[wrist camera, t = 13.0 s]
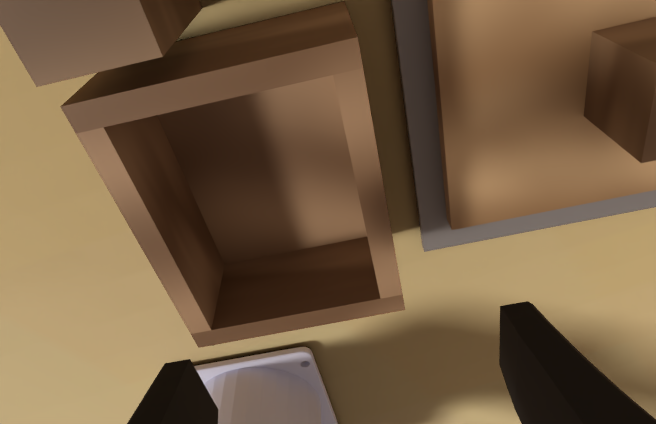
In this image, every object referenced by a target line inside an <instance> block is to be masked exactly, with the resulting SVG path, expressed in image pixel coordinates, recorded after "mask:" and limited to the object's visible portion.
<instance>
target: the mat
mask: <svg viewBox="0 0 656 424" xmlns="http://www.w3.org/2000/svg"><path fill="white" fill-rule="evenodd" d="M391 6H392V14H393V21H394V29H395V37H396V45H397V52H398V60H399V68H400V76H401V83H402V91H403V99H404V106H405V114H406V122H407V130H408V137H409V145H410V153H411V161H412V168H413V176H414V184H415V192H416V199H417V207H418V215H419V223H420V230H421V238H422V246H423V249H424V252H425V251H430V250H436V249H441V248H446V247H451V246H456V245H462V244H467V243H472V242H477V241H482V240H487V239H493V238H498V237H503V236H508V235H513V234H519V233H524V232H529V231H534V230H539V229H544V228H550V227H555V226H560V225H565V224H570V223H576V222H581V221H586V220H591V219H596V218H601V217H607V216H612V215H617V214H622V213H627V212H633V211H638V210H643V209H648V208H653V207H656V190H653V191H648V192H643V193H638V194H633V195H628V196H623V197H617V198H612V199H607V200H602V201H597V202H592V203H587V204H582V205H577V206H572V207H567V208H562V209H557V210H552V211H547V212H542V213H537V214H531V215H526V216H521V217H516V218H511V219H506V220H501V221H496V222H491V223H486V224H481V225H476V226H471V227H466V228H461V229H456V230H451V227H450V225H449V223H448V221H447V215H446V204H445V193H444V181H443V170H442V159H441V148H440V137H439V126H438V115H437V104H436V93H435V81H434V70H433V59H432V48H431V37H430V26H429V15H428V4H427V0H391Z"/></svg>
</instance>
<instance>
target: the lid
mask: <svg viewBox="0 0 656 424" xmlns="http://www.w3.org/2000/svg"><path fill="white" fill-rule="evenodd" d="M427 4H428V15H429V26H430V37H431V48H432V59H433V70H434V81H435V93H436V104H437V115H438V126H439V137H440V148H441V159H442V170H443V181H444V193H445V204H446V215H447V221H448V223H449V225H450V227H451V230H456V229H461V228H466V227H471V226H476V225H481V224H486V223H491V222H496V221H501V220H506V219H511V218H516V217H521V216H526V215H531V214H537V213H542V212H547V211H552V210H557V209H562V208H567V207H572V206H577V205H582V204H587V203H592V202H597V201H602V200H607V199H612V198H617V197H623V196H628V195H633V194H638V193H643V192H648V191H653V190H656V0H427Z"/></svg>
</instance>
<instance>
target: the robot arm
mask: <svg viewBox="0 0 656 424" xmlns="http://www.w3.org/2000/svg"><path fill="white" fill-rule="evenodd" d="M499 364H500V367H501V370H502V373H503V376H504V379H505V382H506V385H507V388H508V391H509V394H510V396H511V399H512V402H513V405H514V408H515V410H516V412H517V414H518V417H519V419H520V421H521V423H522V424H656V419H655V418H653V417H652V416H651V415H650V414H649V413H647V412H646V411H645V410H644V409H643V408H641V407H640V406H639V405H638V404H637V403H635V402H634V401H633V400H632V399H631V398H630V397H628V396H627V395H626V394H625V393H624V392H623V391H621V390H620V389H619V388H618V387H617V386H616V385H615V384H614V383H613V382H611V381H610V380H609V379H608V378H607V377H606V376H605V375H604V374H603V373H602V372H600V371H599V370H598V369H597V368H596V367H595V366H594V365H593V364H592V363H591V362H589V361H588V360H587V359H586V358H585V357H584V356H583V355H582V354H581V353H580V352H579V351H578V350H577V349H576V348H575V347H574V346H573V345H572V344H571V343H570V342H569V341H568V340H567V339H566V338H565V337H564V336H563V335H562V334H561V333H560V332H559V331H558V330H557V329H556V328H555V327H554V326H553V325H552V324H551V323H550V322H549V321H548V320H547V319H546V318H545V317H544V316H543V315H542V314H541V313H540V312H539V311H538V310H537V308H536V307H535V306H534V305H533V304H531V303H530V302H522V303H516V304H510V305H504V306H500V359H499ZM127 424H338V422H337V419H336V416H335V414H334V411H333V408H332V405H331V403H330V400H329V397H328V394H327V392H326V389H325V386H324V383H323V381H322V378H321V375H320V372H319V370H318V367H317V364H316V361H315V359H314V356H313V353H312V351H311V349H309V348H307V347H297V348H292V349H286V350H280V351H275V352H269V353H264V354H258V355H253V356H247V357H242V358H236V359H230V360H225V361H219V362H214V363H208V364H203V365H197V366H194V365H193V364H192V362H191V360H190V359H189V360H183V361H177V362H171V363H165V365H164V366H163V367H162V369H161V370H160V372H159V374H158V375H157V377H156V378H155V380H154V382H153V383H152V385H151V386H150V388H149V390H148V391H147V393H146V394H145V396H144V398H143V399H142V401H141V403H140V404H139V406H138V407H137V409H136V411H135V412H134V414H133V415H132V417H131V418H130V420H129V422H128V423H127Z"/></svg>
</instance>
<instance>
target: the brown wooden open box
mask: <svg viewBox="0 0 656 424" xmlns="http://www.w3.org/2000/svg"><path fill="white" fill-rule="evenodd" d="M201 9H202V7H201V4H200V1H199V0H0V25H1V27H2V29H3V31H4V32H5V34H6V36H7V37H8V39H9V41H10V42H11V44H12V46H13V48H14V49H15V51H16V53H17V54H18V56H19V58H20V59H21V61H22V63H23V65H24V66H25V68H26V70H27V71H28V73H29V75H30V76H31V78H32V80H33V81H34V83H35V85H36V87H38V86H42V85H47V84H51V83H55V82H59V81H63V80H68V79H72V78H76V77H80V76H84V75H89V74H93V73H97V72H98V73H97V74H96V75H95V76H94V77H92V78H91V79H90V80H89V81H88V82H87V83H86V84H85V85H84V86H83V87H82V88H80V89H79V90H78V91H77V92H76V93H75V94H74V95H73V96H72V97H71V98H69V99H68V100H67V101H66V102H65V103H64V104H63V105H62V106H61V108H62V110H63V112H64V114H65V115H66V117H67V119H68V121H69V122H70V124H71V126H72V127H73V129H74V131H75V133H76V134H77V136H78V138H79V140H80V141H81V143H82V145H83V147H84V148H85V150H86V152H87V154H88V155H89V157H90V159H91V161H92V162H93V164H94V166H95V168H96V169H97V171H98V173H99V175H100V176H101V178H102V180H103V182H104V183H105V185H106V187H107V189H108V190H109V192H110V194H111V196H112V197H113V199H114V201H115V203H116V204H117V206H118V208H119V209H120V211H121V213H122V215H123V216H124V218H125V220H126V222H127V223H128V225H129V227H130V229H131V230H132V232H133V234H134V236H135V237H136V239H137V241H138V243H139V244H140V246H141V248H142V250H143V251H144V253H145V255H146V257H147V258H148V260H149V262H150V264H151V265H152V267H153V269H154V271H155V272H156V274H157V276H158V278H159V279H160V281H161V283H162V285H163V286H164V288H165V290H166V291H167V293H168V295H169V297H170V298H171V300H172V302H173V304H174V305H175V307H176V309H177V311H178V312H179V314H180V316H181V318H182V319H183V321H184V323H185V325H186V326H187V328H188V330H189V332H190V333H191V335H192V337H193V339H194V340H195V342H196V344H197V346H198V347H205V346H210V345H216V344H221V343H227V342H232V341H238V340H243V339H248V338H254V337H259V336H265V335H270V334H276V333H281V332H287V331H292V330H298V329H303V328H308V327H314V326H319V325H325V324H330V323H336V322H341V321H347V320H352V319H358V318H363V317H369V316H374V315H379V314H385V313H390V312H396V311H401V310H405V306H404V300H403V295H402V289H401V283H400V277H399V272H398V266H397V260H396V254H395V249H394V243H393V237H392V231H391V226H390V220H389V214H388V208H387V203H386V197H385V191H384V185H383V180H382V174H381V168H380V162H379V157H378V151H377V145H376V139H375V134H374V128H373V122H372V116H371V111H370V105H369V99H368V93H367V88H366V82H365V76H364V70H363V65H362V59H361V53H360V47H359V42H358V37H357V34H356V31H355V28H354V26H353V23H352V20H351V18H350V15H349V12H348V9H347V7H346V4H345V1H343V2H338V3H334V4H330V5H326V6H322V7H318V8H314V9H309V10H305V11H301V12H297V13H293V14H289V15H285V16H280V17H276V18H272V19H268V20H264V21H260V22H255V23H251V24H247V25H243V26H239V27H235V28H231V29H226V30H222V31H218V32H214V33H210V34H206V35H202V36H197V37H193V38H189V39H185V40H181V41H177V42H175V41H176V40H177V39H178V37H179V36H180V35H181V34H182V33H183V31H184V30H185V29H186V28H187V26H188V25H189V24H190V23H191V21H192V20H193V19H194V18H195V17H196V15H197V14H198V13H199V12H200V10H201Z"/></svg>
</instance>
